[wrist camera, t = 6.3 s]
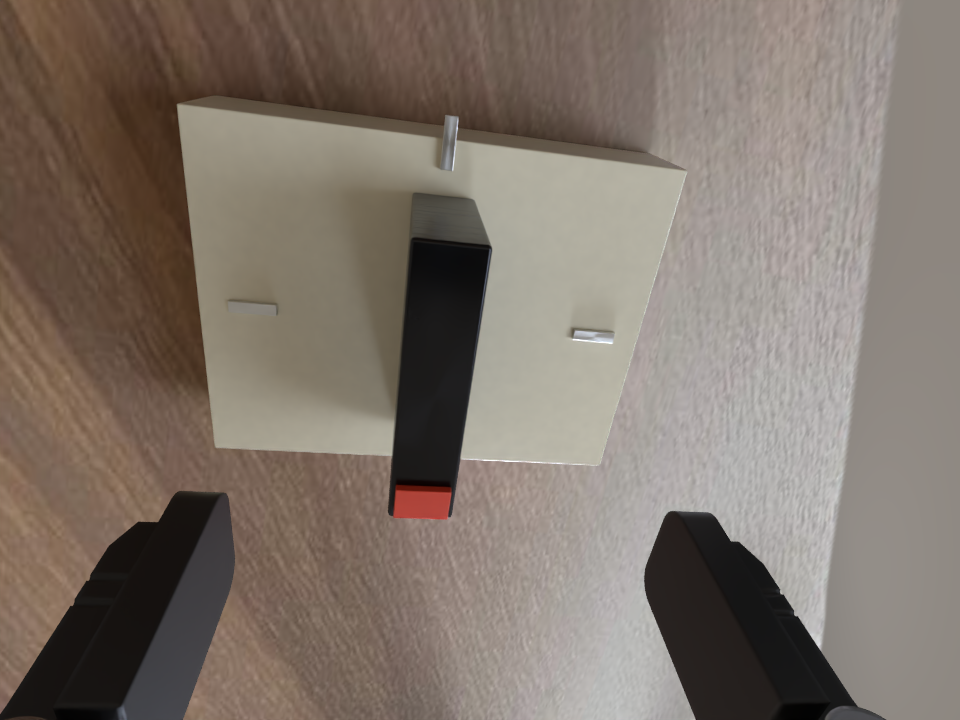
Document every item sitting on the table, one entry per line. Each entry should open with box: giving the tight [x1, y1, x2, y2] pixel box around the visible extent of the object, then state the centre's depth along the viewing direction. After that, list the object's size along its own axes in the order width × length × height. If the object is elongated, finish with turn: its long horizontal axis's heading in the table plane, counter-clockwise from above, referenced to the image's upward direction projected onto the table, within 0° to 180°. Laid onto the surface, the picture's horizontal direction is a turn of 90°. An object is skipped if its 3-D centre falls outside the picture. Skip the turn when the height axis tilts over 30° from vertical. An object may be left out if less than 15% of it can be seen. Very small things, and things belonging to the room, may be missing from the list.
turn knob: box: [388, 192, 492, 520], centre depth 16 cm, size 8×2×5 cm, turn 172°
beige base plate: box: [177, 95, 687, 466], centre depth 19 cm, size 14×12×3 cm
